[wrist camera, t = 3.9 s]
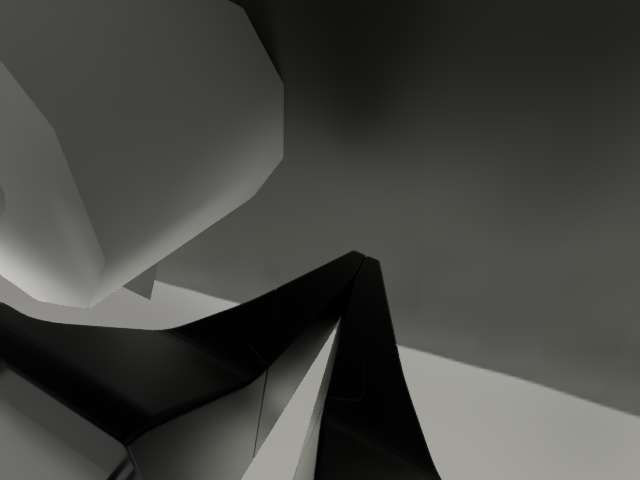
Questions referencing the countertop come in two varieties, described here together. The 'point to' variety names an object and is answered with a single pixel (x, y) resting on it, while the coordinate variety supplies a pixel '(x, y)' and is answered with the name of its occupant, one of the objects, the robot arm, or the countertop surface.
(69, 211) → the toilet tissue
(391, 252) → the countertop surface
